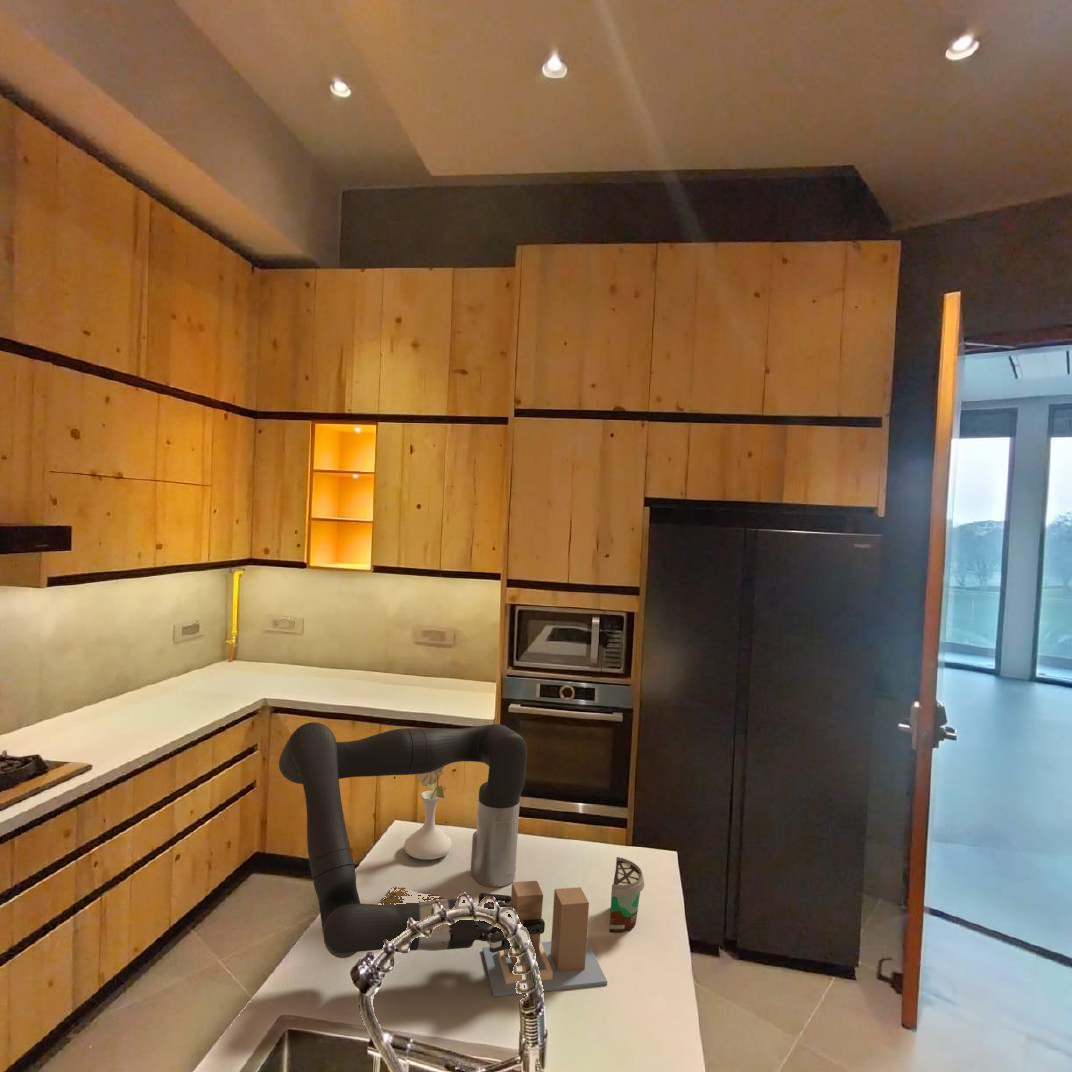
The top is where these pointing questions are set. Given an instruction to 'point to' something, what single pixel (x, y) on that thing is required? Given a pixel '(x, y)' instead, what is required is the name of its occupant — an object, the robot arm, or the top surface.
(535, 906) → the walnut pillar
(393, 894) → the cookie
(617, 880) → the food container
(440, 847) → the flower in vase
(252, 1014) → the top surface
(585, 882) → the top surface
